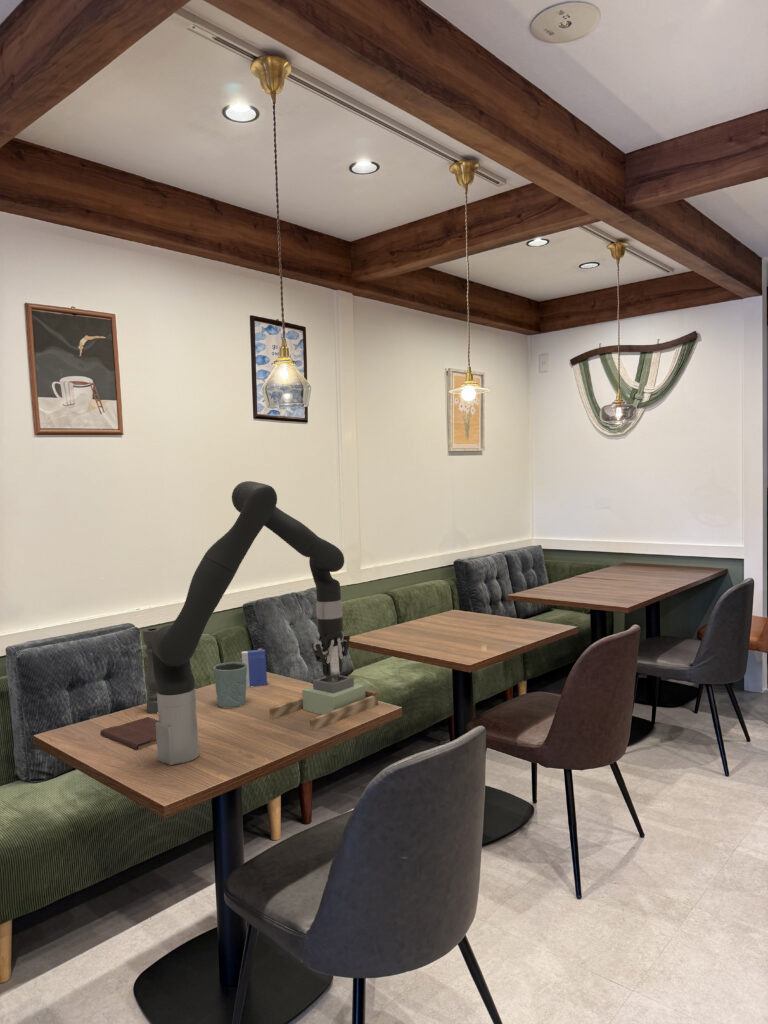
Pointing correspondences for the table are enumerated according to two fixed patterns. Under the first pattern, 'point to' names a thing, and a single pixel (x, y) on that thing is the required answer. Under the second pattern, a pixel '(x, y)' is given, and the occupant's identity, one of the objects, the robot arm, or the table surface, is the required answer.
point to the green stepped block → (331, 695)
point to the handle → (334, 666)
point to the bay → (331, 716)
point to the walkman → (255, 667)
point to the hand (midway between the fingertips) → (332, 673)
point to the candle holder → (150, 671)
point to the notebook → (133, 733)
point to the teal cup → (230, 683)
